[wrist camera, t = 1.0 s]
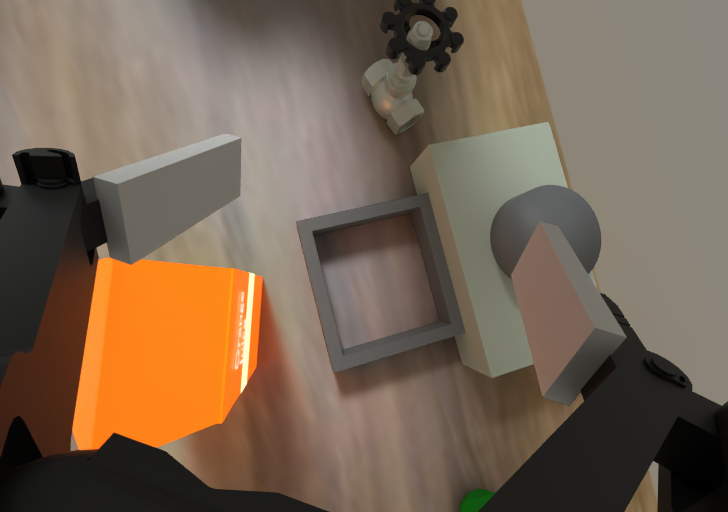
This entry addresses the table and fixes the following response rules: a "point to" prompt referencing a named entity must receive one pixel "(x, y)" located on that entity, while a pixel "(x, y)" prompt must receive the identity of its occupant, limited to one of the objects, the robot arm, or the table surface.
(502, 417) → the table surface
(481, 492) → the polyhedron
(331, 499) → the table surface
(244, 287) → the orange juice
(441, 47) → the valve
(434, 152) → the grey boxy fixture
